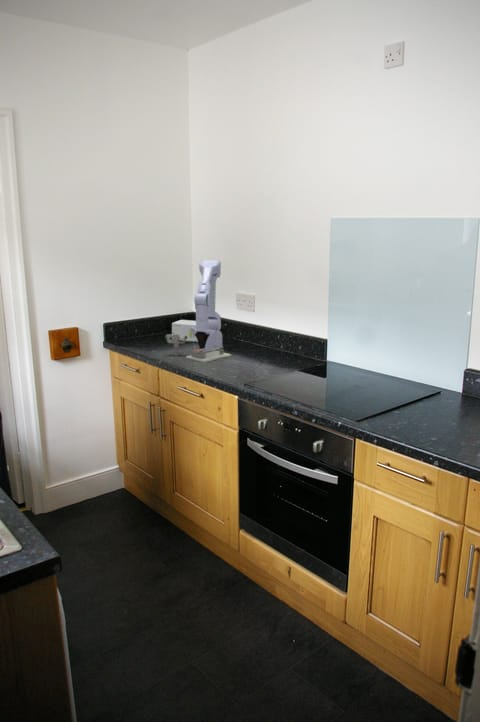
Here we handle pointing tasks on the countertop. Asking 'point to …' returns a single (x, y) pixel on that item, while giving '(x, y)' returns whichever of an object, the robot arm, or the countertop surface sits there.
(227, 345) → the countertop surface
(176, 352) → the mechanical component
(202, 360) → the board
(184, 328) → the supplement box
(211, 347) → the strip
